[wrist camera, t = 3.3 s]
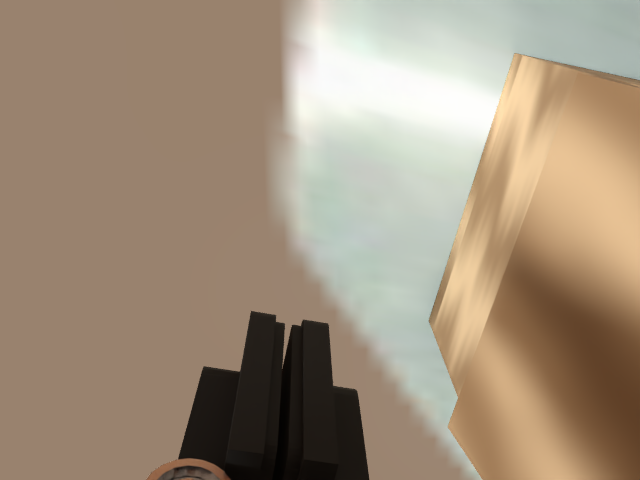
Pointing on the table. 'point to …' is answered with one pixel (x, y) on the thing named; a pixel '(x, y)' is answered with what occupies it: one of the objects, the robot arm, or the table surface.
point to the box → (500, 203)
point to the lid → (567, 311)
